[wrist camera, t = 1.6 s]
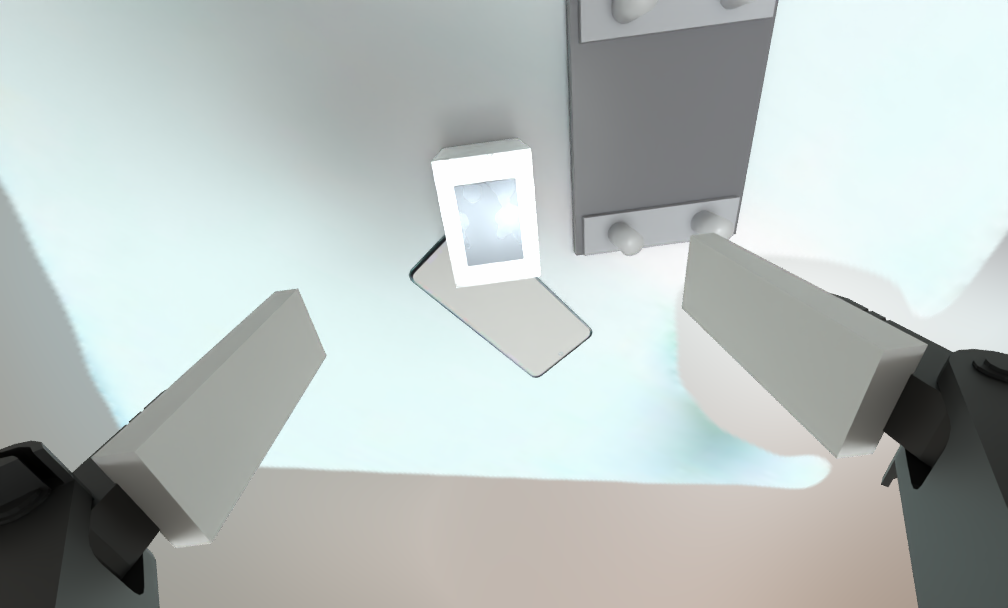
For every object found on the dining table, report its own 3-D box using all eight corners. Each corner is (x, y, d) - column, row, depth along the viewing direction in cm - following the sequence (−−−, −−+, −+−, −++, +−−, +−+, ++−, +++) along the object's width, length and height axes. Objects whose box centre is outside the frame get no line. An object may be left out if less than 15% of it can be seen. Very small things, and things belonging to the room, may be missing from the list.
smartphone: (467, 211, 26) (595, 333, 32) (467, 209, 27) (593, 330, 33) (405, 276, 28) (535, 380, 34) (406, 273, 29) (535, 376, 35)
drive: (442, 148, 25) (430, 162, 18) (517, 137, 25) (531, 148, 18) (460, 247, 28) (456, 289, 22) (526, 238, 28) (541, 277, 22)
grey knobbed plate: (566, -15, 21) (582, -38, 18) (776, -44, 21) (833, -72, 18) (574, 251, 29) (586, 271, 25) (729, 230, 29) (762, 247, 25)
